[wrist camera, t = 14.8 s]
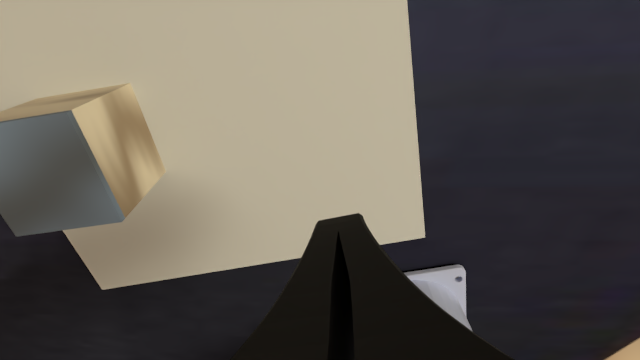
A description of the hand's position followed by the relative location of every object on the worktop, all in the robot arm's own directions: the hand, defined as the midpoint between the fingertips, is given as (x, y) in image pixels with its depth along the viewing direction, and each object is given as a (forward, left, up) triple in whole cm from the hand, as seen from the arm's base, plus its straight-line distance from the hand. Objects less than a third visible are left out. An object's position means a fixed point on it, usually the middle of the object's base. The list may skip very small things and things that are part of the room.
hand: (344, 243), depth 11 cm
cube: (+2, +12, -4) cm, 13 cm away
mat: (+1, +7, -10) cm, 12 cm away
